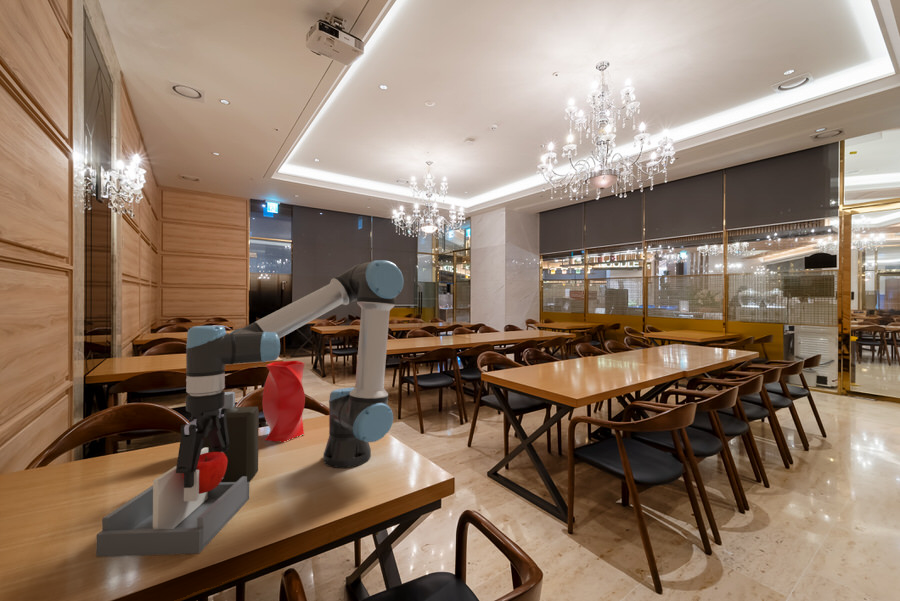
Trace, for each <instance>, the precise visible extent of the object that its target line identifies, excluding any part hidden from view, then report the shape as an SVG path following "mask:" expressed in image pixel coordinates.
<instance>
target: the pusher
mask: <svg viewBox="0 0 900 601" xmlns="http://www.w3.org/2000/svg"><path fill="white" fill-rule="evenodd" d="M204 453H208V448H203V449H202V450H201V454H204ZM201 454H200V455H201ZM176 466H177V464H176V465H174V466H173V467H172V468H170V469H169V470H167V471H166V472H164V473H162V474H161V475H159V476H157V477H156V478H155V479H153V480H152V485H153V529H174V528H175V527H176V526H177V525H178V524H180V523H181V522H182V521H183V520H184V519H185V518H186V517H187V516H189V515H190V514H191V513H192V512H193V511H194V510H195V509H197V508H198V507H199V506H200V505H201V504H202V503H203V502H205V501H206V500H207V499H208V492H205V493H201V494H199V499H198V500H197V501H184V479H183V475H182V473H176Z"/></svg>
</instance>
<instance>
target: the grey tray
mask: <svg viewBox="0 0 900 601" xmlns="http://www.w3.org/2000/svg"><path fill="white" fill-rule="evenodd" d="M249 500H250V482H247V476H242V477H241V478H240V479H239V480H238V481H237V482H220V483H219V485H218V486H217V487H216V488H214V489H212V490H210V491H208V499H207V500H206V501H205V502H203V503H202V504H201V505H200V506H199V507H198V508H197V509H195V510H194V511H193V512H192V513H191V514H190V515H189V516H187V517H186V518H185V519H184V520H183V521H182V522H181V523H180V524H178V525H177V526H176V527H175V528H174V529H153V484H152V485H151V486H150V487H148V488H146V489H145V490H143V491H142V492H140V493H139V494H137V495H135V496H134V497H132V498H131V499H130V500H128V501H127V502H125V503H124V504H122V505H120V506H119V507H117V508H116V509H114V510H113V511H111V512H109V513H108V514H106V515H105V516H104V517H102V525H101V526H102V527H101V529H102V530H101V531H99V532H98V533H97V534H96V543H95V544H96V551H95V555H96V556H104V557H105V556H106V557H131V556H132V557H134V556H157V555H158V556H160V555H161V556H163V555H164V556H165V555H188V554H189V555H193V554H200V553H201V552H203V550H204V549H205V548H206V547H207V546H208V544H209V543H210V542H211V541H212V540H213V539H214V538H215V537H216V536H217V534H218V533H219V532H220V531H221V530H223V528H224V527H225V526H226V525H227V524H228V523H229V522H230V521H231V520H232V518H233V517H234V516H235V515H236V514H237V513H238V512H239V511H240V509H242V508H243V507H244V505H245V504H246V503H247V502H248V501H249ZM96 556H95V557H96Z"/></svg>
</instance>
